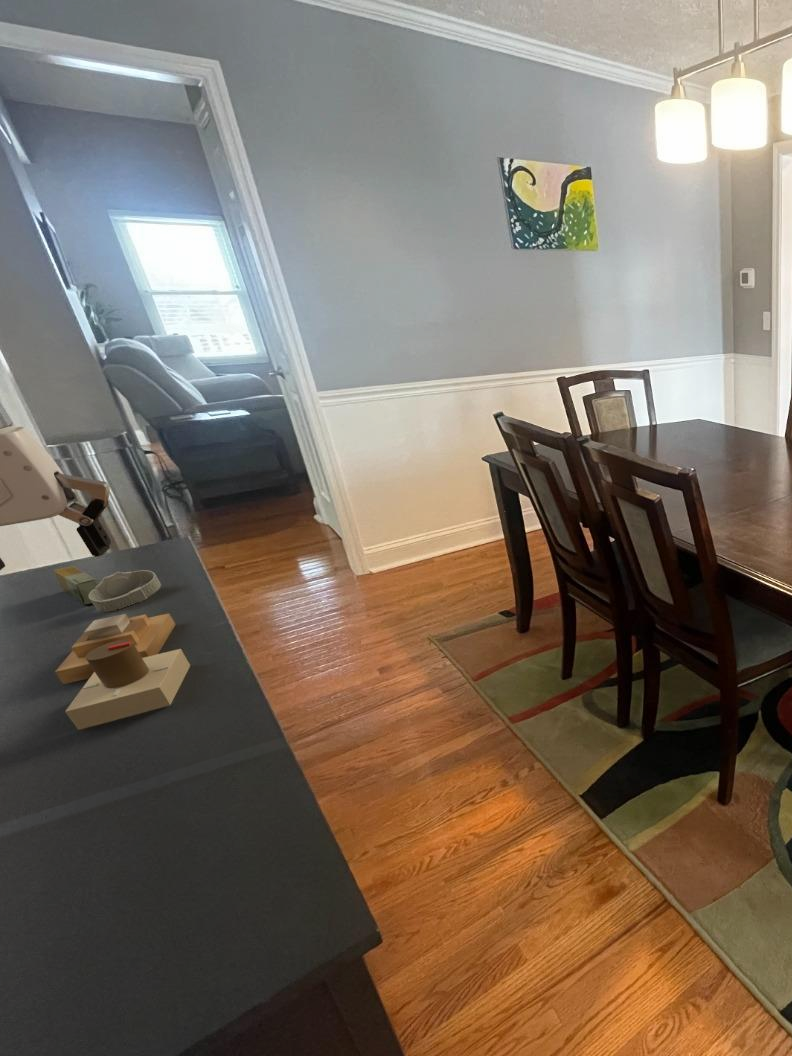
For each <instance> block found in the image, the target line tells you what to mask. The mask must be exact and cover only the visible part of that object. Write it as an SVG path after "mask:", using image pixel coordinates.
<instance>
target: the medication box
mask: <svg viewBox="0 0 792 1056" xmlns="http://www.w3.org/2000/svg"><path fill="white" fill-rule="evenodd" d="M53 572H54V574H55V577H56V579H57V581H58V584H59V586H60V589H61V590H62V591H64V592H65V593H66V594H68V595H69V596H71V597H72V598H73V599H75V600H76V601H78V602H79V603H81V604H82V605H84V606H89V605H93V603H92V602H91V600H90V599H89V597H88V596H89V593H90V592H91V591H92V590H93V589H96V588H95V587H96V586H97V585H98V584H99V582H98V580H97V579H96V578H94V577H93V576H91V575H89V574H87V573H86V572H84V571H82V570H81V569H79V568H78V567H76V566H74V565H70V566H65V567H59V568H55V569H53Z"/></svg>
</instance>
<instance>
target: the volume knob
mask: <svg viewBox="0 0 792 1056" xmlns="http://www.w3.org/2000/svg"><path fill="white" fill-rule="evenodd" d="M85 658H86V660H87V661H88V663H89V664H90V666H91V667H92V669H93V670H94V672H95V673H96V675H97V676H98V678H99V679H100V681H101V682H102V684H103V685H104V686H105V687H107V688H115V687H120V686H124V685H127V684H130V683H132V682H135V681H137V680H139V679H140V678H142V677H143V676H145V675H146V674H147V673H148V671H149V669H148V667H147V665H146V664H145V662H144V660H143V659H142V657H141V655H140V654H139V652H138V651H137V649H136V647H135V646H134V644H133V642H132V641H130V640H119V641H114V642H111V643H107V644H104V645H102V646H99V647H97V648H95V649H93V650H92V651H90V652H89V653H88V654H87V655H86V657H85Z"/></svg>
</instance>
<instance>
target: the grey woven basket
mask: <svg viewBox="0 0 792 1056" xmlns="http://www.w3.org/2000/svg"><path fill="white" fill-rule="evenodd" d="M143 584H144V585H143ZM140 585H142V586H140ZM161 587H162V584H161V582H160V579H159V578H158V577H157V575H156V573H155V572H154V571H152V570H148V569H141V570H135V571H126V572H124V571H123V572H120V571H116V572H114V573H113V574H110V575H108V576H104V577H102V578H101V580H100V582H98V585H97V586H96V587H95V588H96V589H93V590H92V591H91V592H90V593H89V596H88V597H89V599H90V600H91V602H92V603H93V604H92V605H93V607H94V608H95V610H97V611H98V612H103V613H108V612H116V611H118V610H117V609H119V610H123V609H125V608H124V607H126V608H128V607H127V606H129V607H131V606H130V605H132V604H134V605H136V604H135V603H136V602H140V603H142V602H144V601H143V600H145V601H147V600H148V599H147V598H149V597H151V596H152V595H154V594H156V593H157V592H158V591H159V590H160V589H161ZM146 599H147V600H146ZM141 601H142V602H141ZM132 606H133V605H132ZM122 608H123V609H122Z"/></svg>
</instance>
